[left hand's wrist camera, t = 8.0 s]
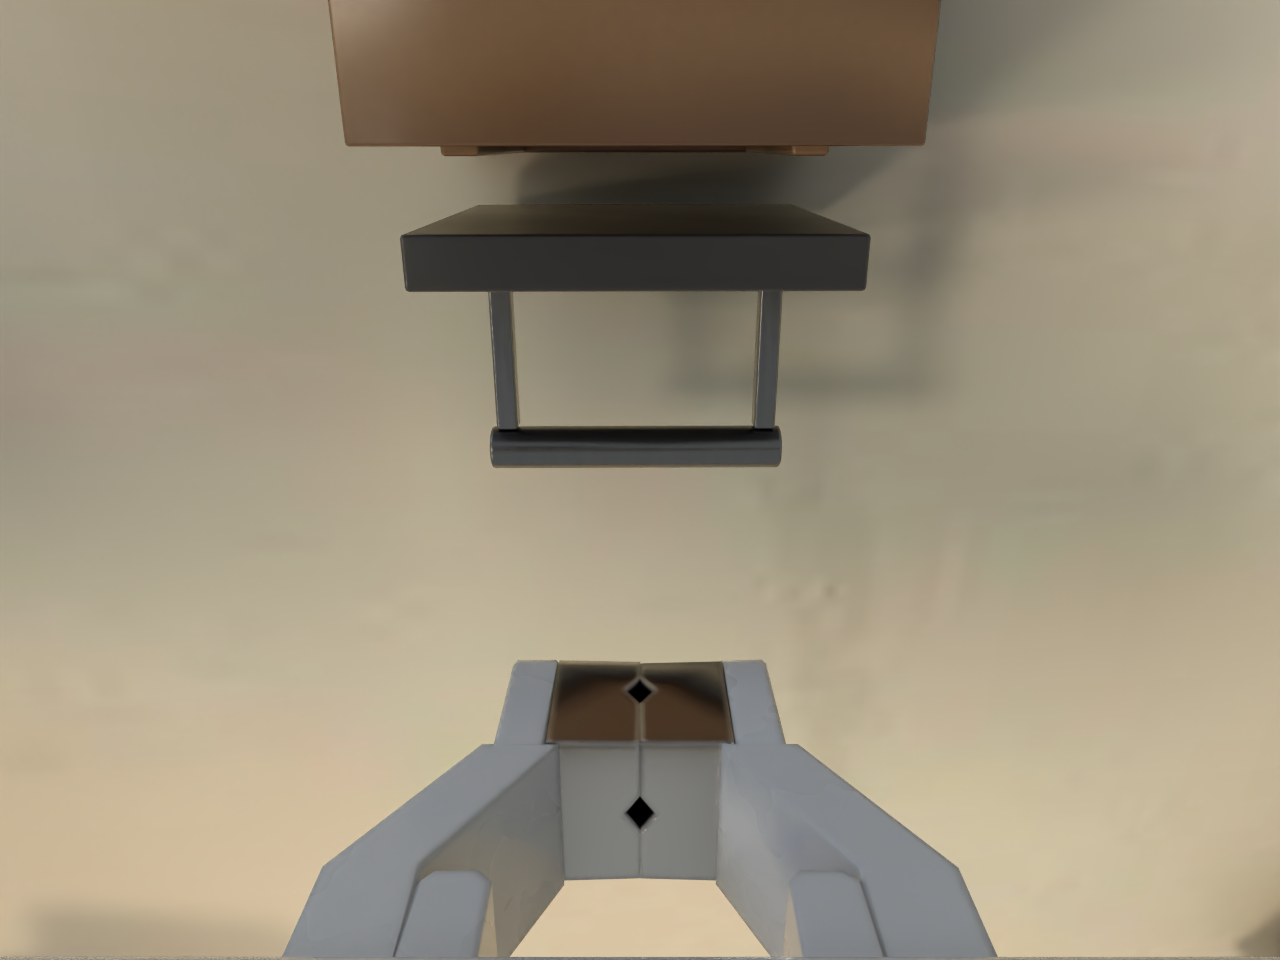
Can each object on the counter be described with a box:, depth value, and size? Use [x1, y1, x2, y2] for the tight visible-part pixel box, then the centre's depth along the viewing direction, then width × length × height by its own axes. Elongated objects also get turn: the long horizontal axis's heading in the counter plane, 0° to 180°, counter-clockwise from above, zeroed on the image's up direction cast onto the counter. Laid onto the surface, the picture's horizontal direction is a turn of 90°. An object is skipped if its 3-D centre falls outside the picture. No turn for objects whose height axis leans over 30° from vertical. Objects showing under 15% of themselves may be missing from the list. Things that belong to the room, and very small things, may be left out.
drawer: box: [400, 146, 870, 468], centre depth 21 cm, size 23×10×10 cm, turn 0°
